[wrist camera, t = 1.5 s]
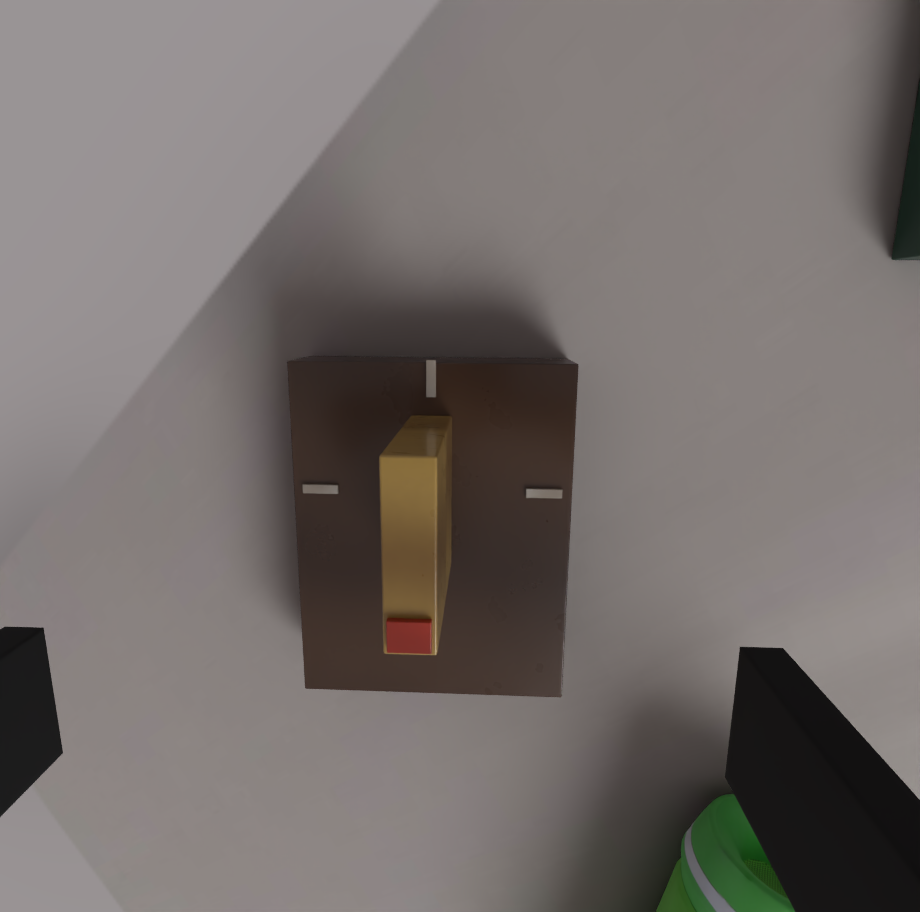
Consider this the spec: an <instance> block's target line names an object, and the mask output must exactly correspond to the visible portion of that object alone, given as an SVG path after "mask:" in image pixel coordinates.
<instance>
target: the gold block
mask: <svg viewBox="0 0 920 912" xmlns="http://www.w3.org/2000/svg"><path fill="white" fill-rule="evenodd" d="M379 478H380V523H381V567H382V612H383V651H384V653H385V654H410V655H437V653H438V646H439V640H440V633H441V627H442V620H443V613H444V607H445V600H446V594H447V587H448V580H449V574H450V567H451V533H452V417H451V416H422V415H412V416H410V418H409V419H408V420H407V421H406V423H405V424H404V425H403V427H402V428H401V429H400V430H399V432H398V433H397V434H396V436H395V437H394V438H393V439H392V441H391V442H390V443H389V445H388V446H387V447H386V448H385V450H384V451H383V452H382V453H381V455H380V456H379Z"/></svg>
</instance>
